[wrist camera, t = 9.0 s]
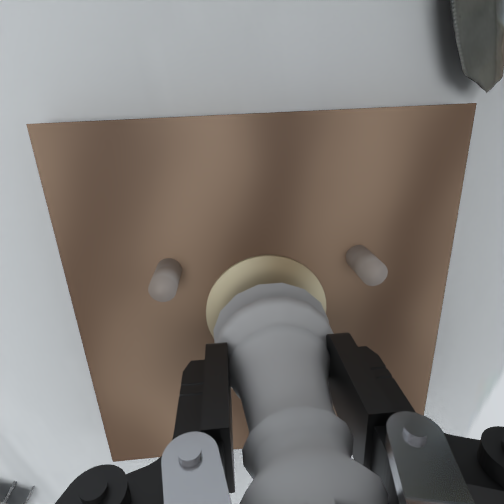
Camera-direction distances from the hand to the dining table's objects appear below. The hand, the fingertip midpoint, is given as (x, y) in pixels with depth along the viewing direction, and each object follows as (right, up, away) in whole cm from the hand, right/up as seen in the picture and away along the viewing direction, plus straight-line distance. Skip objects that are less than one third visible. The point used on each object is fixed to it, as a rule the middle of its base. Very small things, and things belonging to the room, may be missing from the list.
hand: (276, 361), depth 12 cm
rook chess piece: (0, +1, +2) cm, 2 cm away
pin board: (0, +2, +5) cm, 5 cm away
